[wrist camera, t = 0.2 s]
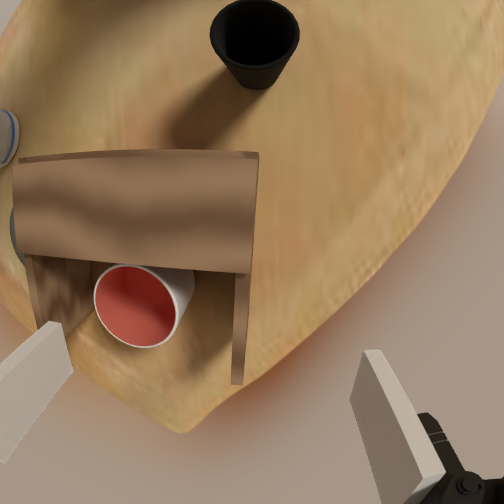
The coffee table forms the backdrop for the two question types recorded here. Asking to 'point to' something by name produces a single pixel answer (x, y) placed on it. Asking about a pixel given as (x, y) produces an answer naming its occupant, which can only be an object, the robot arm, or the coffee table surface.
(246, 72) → the cup
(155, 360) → the coffee table surface
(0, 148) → the supplement tub
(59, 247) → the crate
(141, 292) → the cup
